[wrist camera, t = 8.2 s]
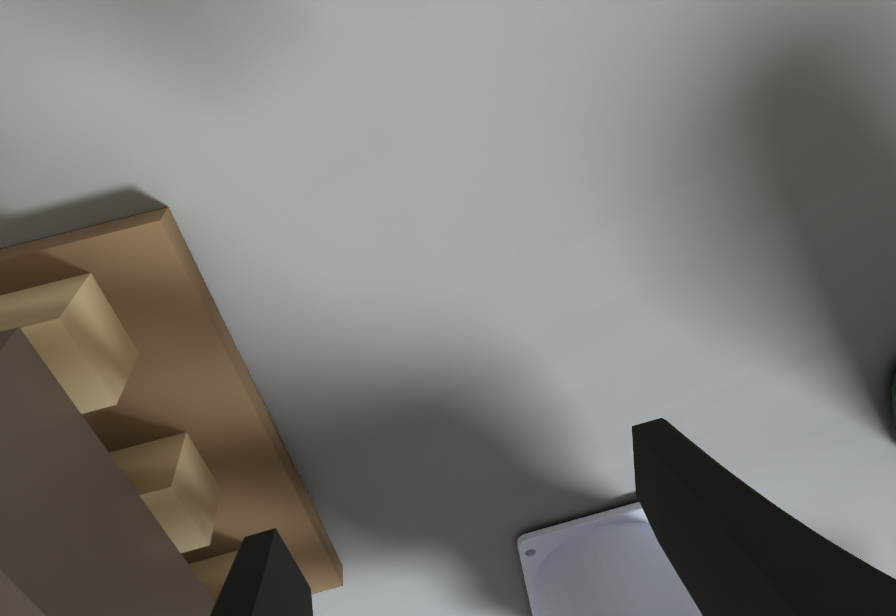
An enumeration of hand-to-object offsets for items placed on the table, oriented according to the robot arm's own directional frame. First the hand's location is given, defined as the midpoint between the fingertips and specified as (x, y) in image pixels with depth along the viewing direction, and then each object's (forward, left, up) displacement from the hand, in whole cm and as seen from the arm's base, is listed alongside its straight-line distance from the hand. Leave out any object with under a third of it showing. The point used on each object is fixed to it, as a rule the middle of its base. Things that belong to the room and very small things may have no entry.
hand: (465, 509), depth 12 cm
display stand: (-5, +11, -10) cm, 16 cm away
